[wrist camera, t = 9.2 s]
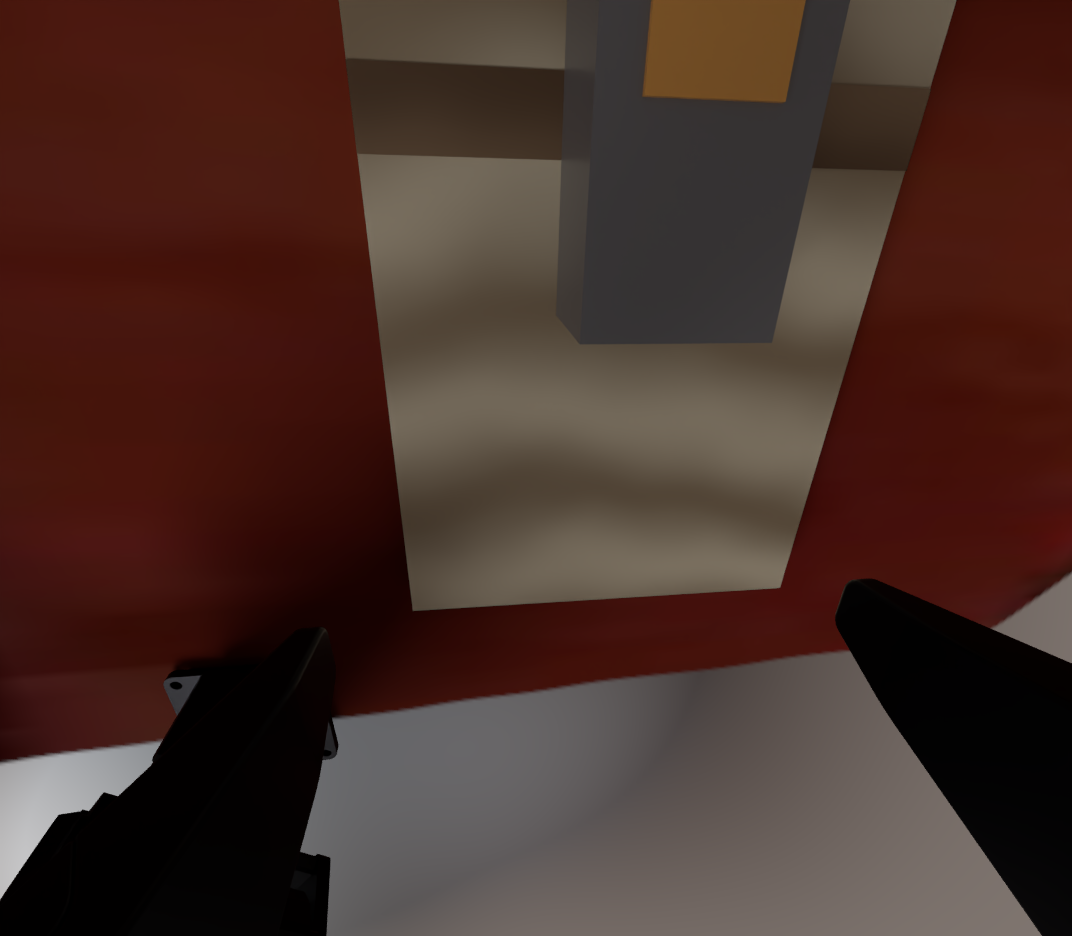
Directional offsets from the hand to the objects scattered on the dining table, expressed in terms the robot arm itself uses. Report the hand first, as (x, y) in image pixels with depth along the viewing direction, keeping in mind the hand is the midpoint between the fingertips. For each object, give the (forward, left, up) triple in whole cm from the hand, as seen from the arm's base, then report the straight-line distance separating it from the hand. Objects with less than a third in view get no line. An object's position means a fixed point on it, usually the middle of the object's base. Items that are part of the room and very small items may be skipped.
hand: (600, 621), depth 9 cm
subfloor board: (+3, -3, -11) cm, 12 cm away
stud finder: (+8, -3, -10) cm, 13 cm away
